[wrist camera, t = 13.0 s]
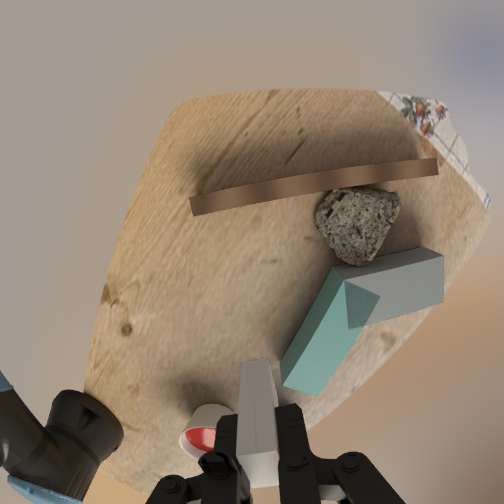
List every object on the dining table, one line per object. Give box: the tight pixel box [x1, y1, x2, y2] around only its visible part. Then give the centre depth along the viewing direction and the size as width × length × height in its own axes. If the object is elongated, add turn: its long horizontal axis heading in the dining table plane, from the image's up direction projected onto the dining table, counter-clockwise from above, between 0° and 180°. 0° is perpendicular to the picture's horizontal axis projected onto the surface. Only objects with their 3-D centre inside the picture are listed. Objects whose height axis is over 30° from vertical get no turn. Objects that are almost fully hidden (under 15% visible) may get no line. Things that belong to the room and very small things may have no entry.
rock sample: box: [314, 188, 401, 267], centre depth 31 cm, size 10×8×9 cm
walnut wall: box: [189, 158, 439, 217], centre depth 30 cm, size 28×2×4 cm, turn 101°
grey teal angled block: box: [280, 247, 444, 396], centre depth 33 cm, size 21×15×5 cm
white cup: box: [179, 404, 235, 459], centre depth 37 cm, size 9×9×6 cm
